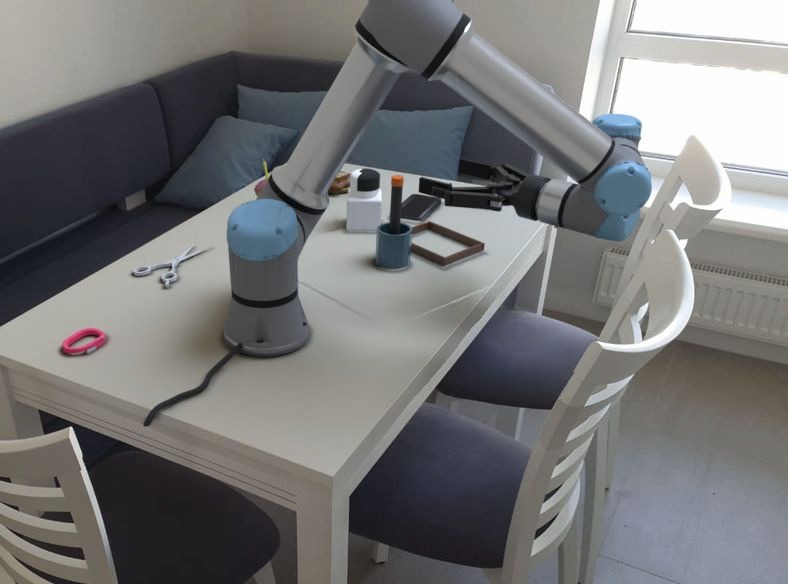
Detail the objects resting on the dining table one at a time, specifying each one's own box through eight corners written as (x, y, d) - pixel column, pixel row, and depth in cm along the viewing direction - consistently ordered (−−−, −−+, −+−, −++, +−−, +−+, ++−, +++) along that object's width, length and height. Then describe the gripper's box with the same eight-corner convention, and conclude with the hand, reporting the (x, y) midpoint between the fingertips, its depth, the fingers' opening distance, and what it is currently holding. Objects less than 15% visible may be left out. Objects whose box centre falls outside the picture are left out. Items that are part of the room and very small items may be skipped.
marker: (392, 264, 165) (397, 179, 155) (384, 260, 167) (388, 176, 157) (400, 261, 167) (406, 177, 157) (392, 257, 168) (397, 174, 158)
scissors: (125, 273, 164) (184, 238, 178) (126, 277, 165) (184, 241, 179) (167, 284, 159) (223, 247, 174) (167, 288, 160) (223, 250, 174)
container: (380, 220, 187) (382, 165, 180) (380, 233, 181) (382, 177, 174) (347, 219, 188) (348, 165, 181) (346, 232, 182) (347, 176, 174)
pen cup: (392, 275, 163) (394, 238, 159) (368, 263, 168) (369, 227, 163) (417, 265, 167) (419, 229, 162) (393, 254, 171) (395, 219, 167)
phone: (442, 198, 195) (420, 219, 184) (442, 202, 195) (420, 223, 185) (412, 193, 198) (388, 213, 187) (412, 197, 199) (388, 218, 188)
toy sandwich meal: (368, 183, 208) (369, 166, 205) (339, 199, 199) (340, 181, 196) (329, 174, 214) (329, 157, 212) (299, 189, 205) (299, 171, 203)
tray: (444, 269, 165) (445, 258, 163) (389, 244, 176) (390, 234, 174) (483, 253, 171) (484, 243, 170) (428, 230, 182) (429, 220, 180)
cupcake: (250, 212, 193) (248, 163, 186) (261, 200, 200) (260, 152, 193) (284, 215, 191) (283, 166, 184) (294, 203, 198) (294, 155, 191)
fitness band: (80, 359, 138) (78, 352, 137) (56, 350, 141) (54, 343, 140) (112, 339, 144) (111, 331, 143) (89, 330, 146) (87, 323, 146)
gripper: (505, 243, 132) (400, 213, 144) (574, 200, 147) (474, 176, 160) (511, 199, 128) (403, 172, 140) (581, 160, 143) (478, 139, 155)
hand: (440, 174), depth 150 cm, fingers open, 13 cm apart
